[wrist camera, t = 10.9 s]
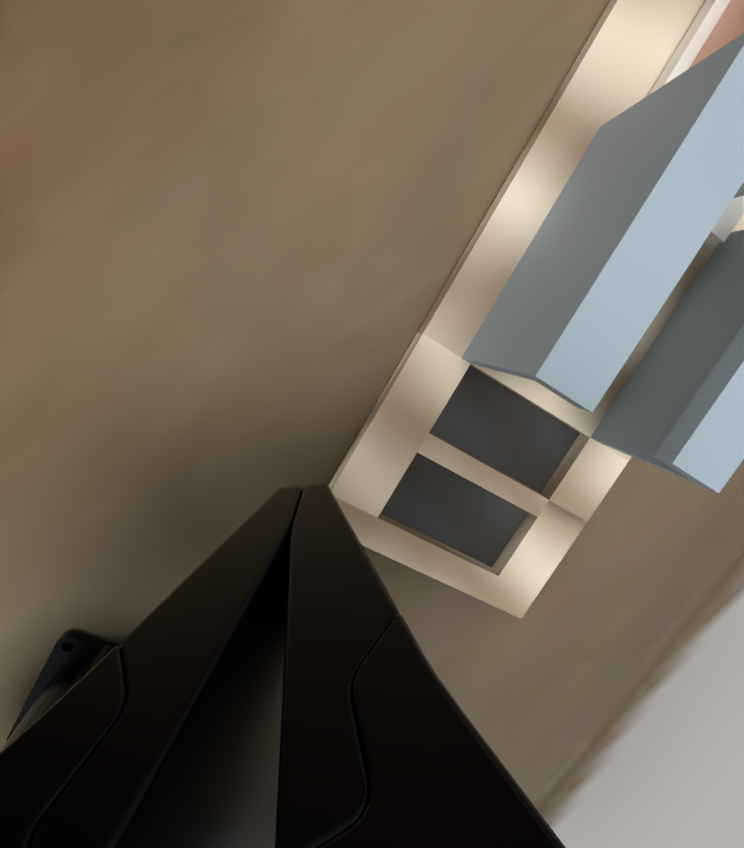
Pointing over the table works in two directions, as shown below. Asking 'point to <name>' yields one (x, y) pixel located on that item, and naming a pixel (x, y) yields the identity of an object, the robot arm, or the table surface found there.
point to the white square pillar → (711, 30)
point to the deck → (500, 392)
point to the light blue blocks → (642, 279)
